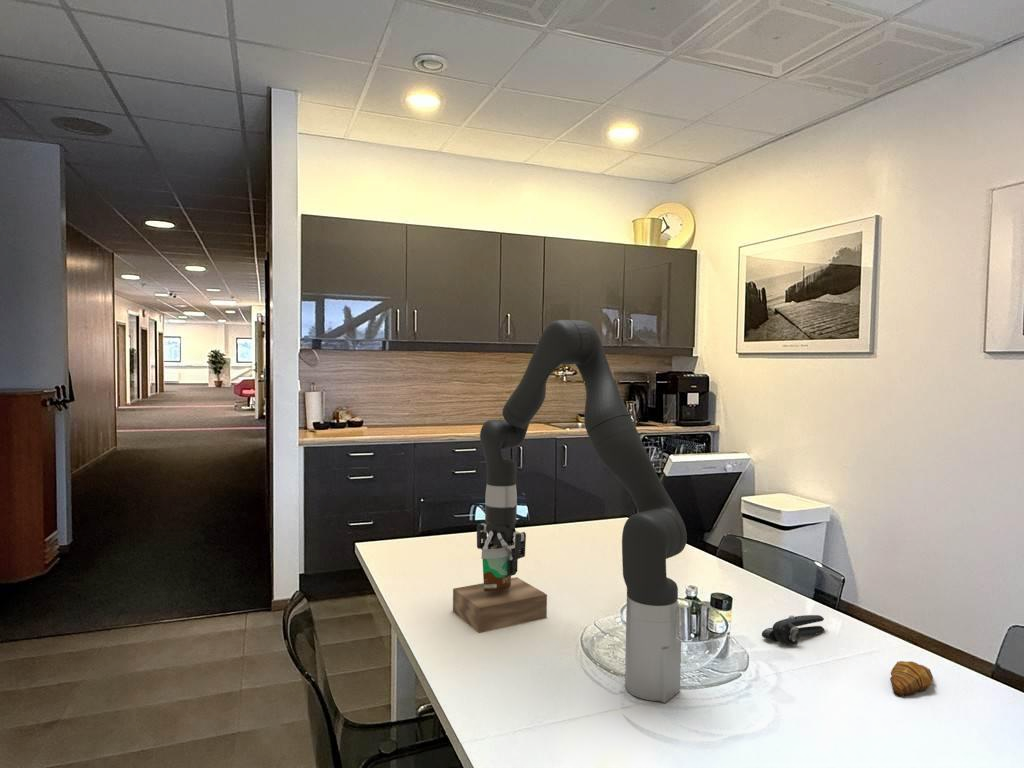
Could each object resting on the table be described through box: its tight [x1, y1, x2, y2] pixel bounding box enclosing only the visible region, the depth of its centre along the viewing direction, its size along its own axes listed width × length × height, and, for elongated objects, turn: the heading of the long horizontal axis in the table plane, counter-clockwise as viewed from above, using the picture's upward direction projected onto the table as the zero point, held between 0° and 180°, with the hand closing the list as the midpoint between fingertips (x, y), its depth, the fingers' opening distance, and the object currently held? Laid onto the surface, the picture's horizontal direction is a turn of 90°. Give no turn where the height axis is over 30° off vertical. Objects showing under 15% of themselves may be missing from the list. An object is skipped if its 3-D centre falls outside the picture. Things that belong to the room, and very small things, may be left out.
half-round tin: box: [481, 544, 513, 592], centre depth 150 cm, size 12×6×10 cm, turn 164°
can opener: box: [761, 614, 825, 646], centre depth 140 cm, size 18×7×6 cm, turn 119°
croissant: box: [889, 660, 934, 697], centre depth 119 cm, size 14×7×5 cm, turn 127°
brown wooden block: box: [452, 576, 548, 634], centre depth 150 cm, size 14×18×6 cm
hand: (500, 571), depth 150 cm, fingers closed on half-round tin, 7 cm apart
